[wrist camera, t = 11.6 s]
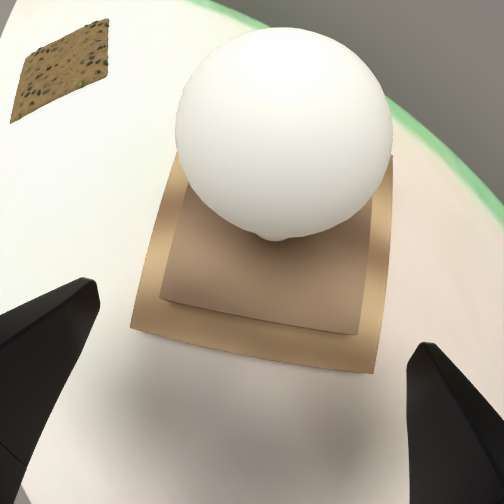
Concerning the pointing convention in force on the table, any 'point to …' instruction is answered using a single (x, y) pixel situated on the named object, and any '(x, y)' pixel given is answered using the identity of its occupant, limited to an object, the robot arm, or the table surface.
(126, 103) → the table surface
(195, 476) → the table surface
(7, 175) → the table surface
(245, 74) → the lightbulb
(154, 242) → the plinth
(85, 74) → the cookie
